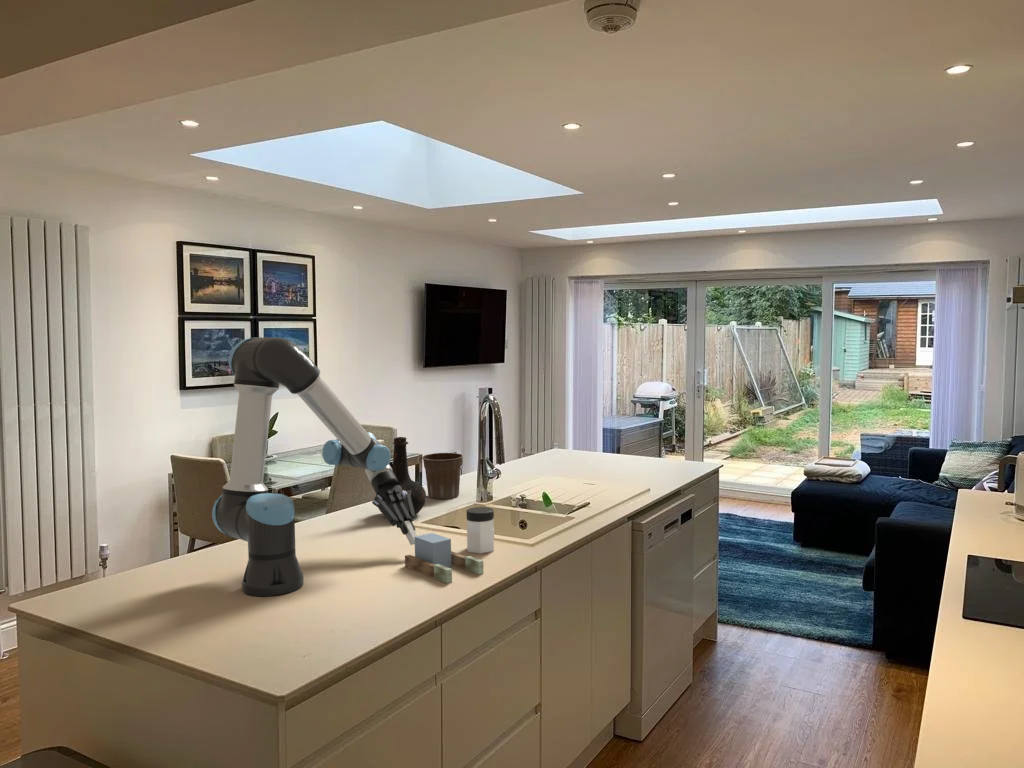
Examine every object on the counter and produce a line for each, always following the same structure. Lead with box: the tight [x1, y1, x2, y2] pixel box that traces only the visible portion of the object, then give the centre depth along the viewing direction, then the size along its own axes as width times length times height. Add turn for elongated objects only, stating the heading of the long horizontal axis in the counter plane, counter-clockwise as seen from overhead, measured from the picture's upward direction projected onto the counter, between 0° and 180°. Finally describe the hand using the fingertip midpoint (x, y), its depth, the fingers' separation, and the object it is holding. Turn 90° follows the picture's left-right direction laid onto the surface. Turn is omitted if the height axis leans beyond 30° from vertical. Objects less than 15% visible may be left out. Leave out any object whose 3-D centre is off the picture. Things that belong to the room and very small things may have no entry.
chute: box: [404, 550, 484, 584], centre depth 210 cm, size 20×12×4 cm, turn 41°
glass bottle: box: [385, 436, 427, 516], centre depth 271 cm, size 18×18×28 cm
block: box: [414, 532, 452, 569], centre depth 214 cm, size 9×6×8 cm, turn 41°
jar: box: [465, 506, 495, 555], centre depth 229 cm, size 9×8×12 cm
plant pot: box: [421, 452, 464, 500], centre depth 303 cm, size 16×16×16 cm
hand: (414, 542), depth 221 cm, fingers closed
